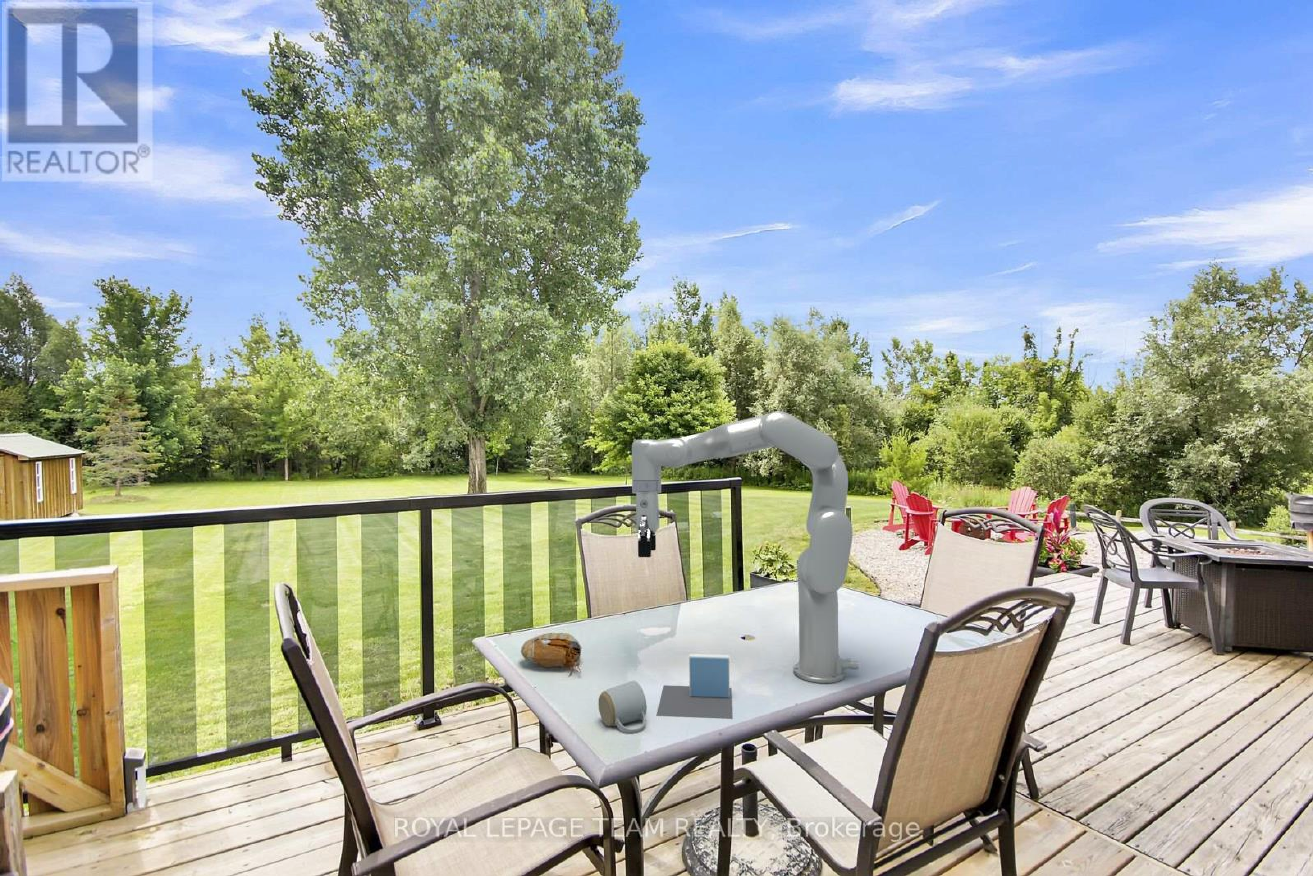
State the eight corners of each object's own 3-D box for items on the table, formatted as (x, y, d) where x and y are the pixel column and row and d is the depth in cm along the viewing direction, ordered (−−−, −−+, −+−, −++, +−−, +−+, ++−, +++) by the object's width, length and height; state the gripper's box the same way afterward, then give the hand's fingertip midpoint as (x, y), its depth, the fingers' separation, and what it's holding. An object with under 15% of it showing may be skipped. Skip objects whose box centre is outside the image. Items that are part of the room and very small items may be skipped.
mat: (731, 690, 140) (731, 687, 140) (732, 721, 124) (732, 718, 124) (663, 687, 141) (663, 685, 141) (656, 718, 125) (656, 715, 125)
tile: (729, 694, 136) (729, 655, 136) (729, 698, 134) (729, 658, 134) (690, 693, 137) (689, 654, 137) (689, 696, 135) (689, 657, 135)
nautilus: (601, 676, 150) (546, 693, 142) (566, 647, 168) (515, 660, 160) (600, 645, 150) (545, 660, 142) (565, 620, 168) (514, 632, 160)
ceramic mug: (596, 720, 125) (596, 683, 125) (630, 710, 129) (630, 675, 129) (620, 742, 116) (620, 702, 116) (655, 731, 120) (655, 693, 120)
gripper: (657, 489, 145) (657, 560, 144) (664, 485, 162) (665, 548, 161) (626, 489, 145) (627, 559, 145) (637, 485, 163) (637, 547, 162)
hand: (647, 553), depth 153 cm, fingers open, 9 cm apart
